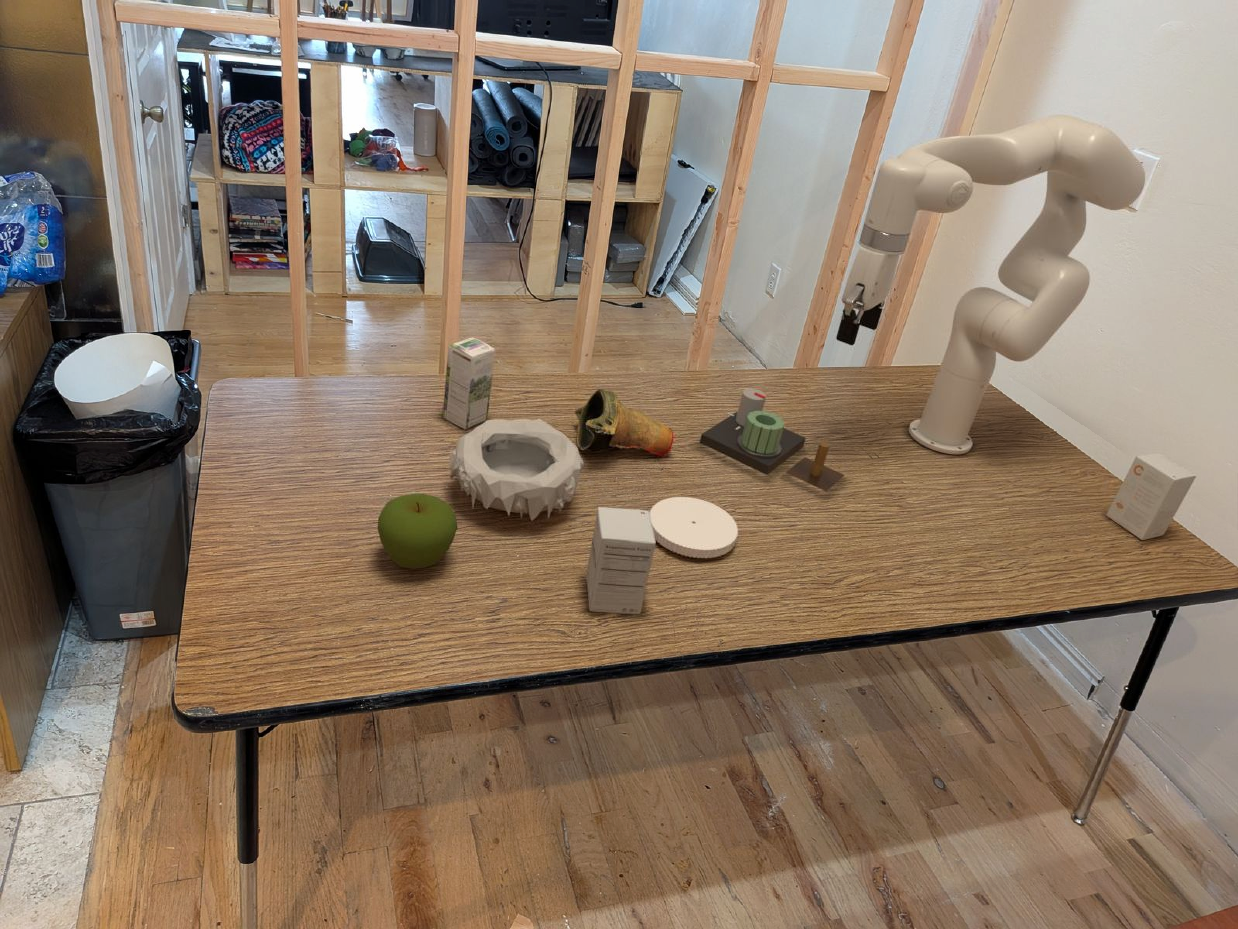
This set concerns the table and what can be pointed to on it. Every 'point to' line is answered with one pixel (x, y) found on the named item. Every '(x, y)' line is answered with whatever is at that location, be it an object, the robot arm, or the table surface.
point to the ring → (762, 432)
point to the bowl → (517, 466)
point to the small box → (1150, 495)
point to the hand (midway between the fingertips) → (856, 334)
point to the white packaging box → (619, 560)
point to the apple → (416, 529)
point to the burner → (754, 453)
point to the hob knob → (749, 404)
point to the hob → (726, 443)
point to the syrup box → (468, 382)
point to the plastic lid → (693, 527)
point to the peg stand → (816, 470)
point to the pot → (619, 427)
